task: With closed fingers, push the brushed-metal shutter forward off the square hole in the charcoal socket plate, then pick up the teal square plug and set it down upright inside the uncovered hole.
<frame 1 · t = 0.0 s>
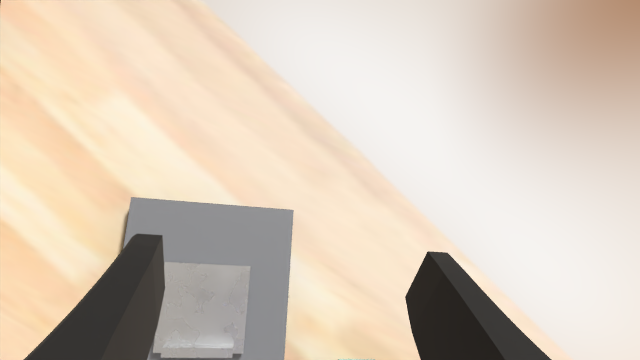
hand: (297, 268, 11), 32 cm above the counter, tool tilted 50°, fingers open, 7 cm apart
socket plate: (205, 305, 40), on the counter
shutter: (203, 308, 37), point 4 cm above the counter, slide at 0.0 cm
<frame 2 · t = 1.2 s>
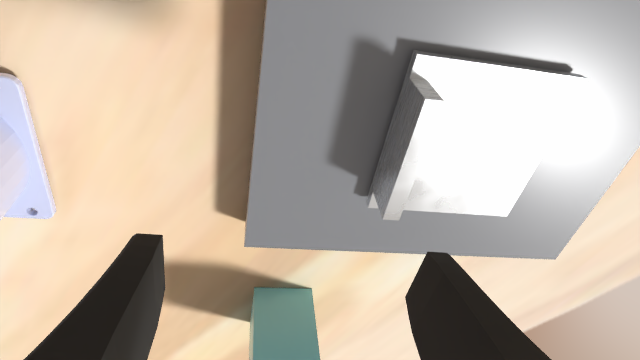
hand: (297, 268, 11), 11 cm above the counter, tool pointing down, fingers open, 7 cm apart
plug: (280, 305, 29), on the counter
socket plate: (447, 120, 21), on the counter
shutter: (476, 157, 18), point 4 cm above the counter, slide at 0.0 cm
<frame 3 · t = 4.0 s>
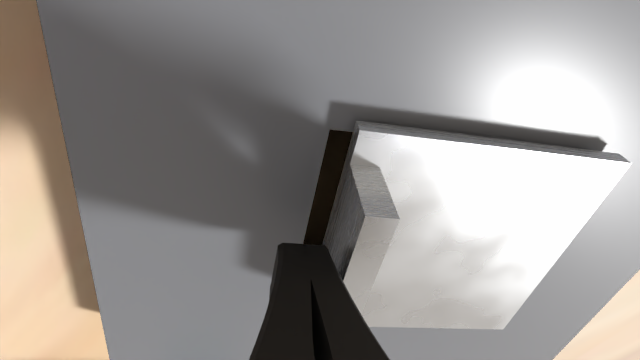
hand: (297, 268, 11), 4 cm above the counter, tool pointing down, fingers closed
socket plate: (395, 196, 15), on the counter
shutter: (457, 272, 12), point 4 cm above the counter, slide at 1.0 cm, touching gripper
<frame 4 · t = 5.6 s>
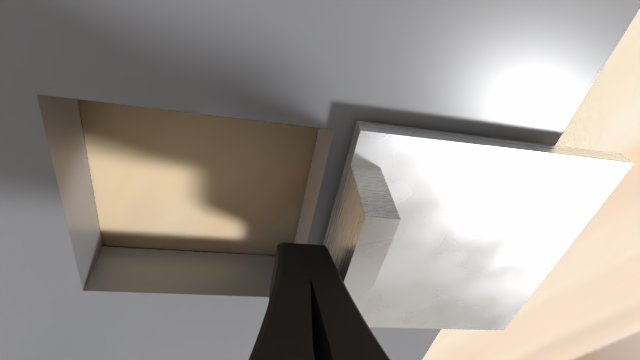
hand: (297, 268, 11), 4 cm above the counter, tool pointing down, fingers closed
socket plate: (203, 179, 13), on the counter
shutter: (458, 272, 12), point 4 cm above the counter, slide at 7.9 cm, touching gripper
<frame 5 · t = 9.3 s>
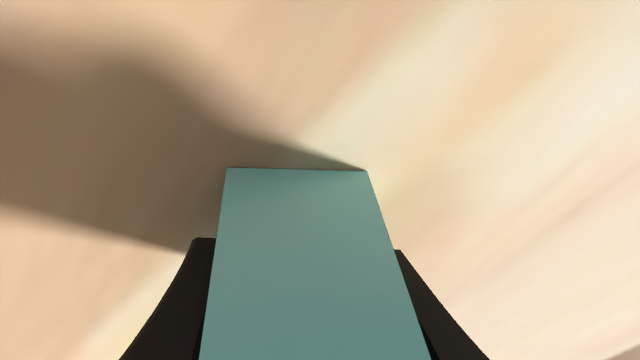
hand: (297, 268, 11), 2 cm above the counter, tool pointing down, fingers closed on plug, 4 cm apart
plug: (294, 221, 13), on the counter, touching gripper
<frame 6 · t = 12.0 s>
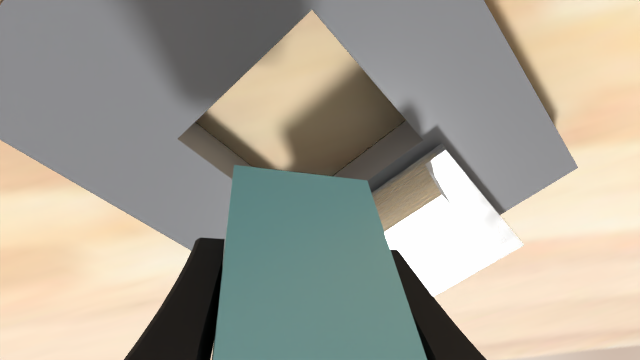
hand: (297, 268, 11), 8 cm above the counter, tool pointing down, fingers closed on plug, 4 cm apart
plug: (291, 222, 13), point 6 cm above the counter, touching gripper
socket plate: (301, 116, 18), on the counter
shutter: (420, 260, 19), point 4 cm above the counter, slide at 7.9 cm
when the fingers open (3 cm above the counter, at t = 15.0 s): plug stays where it is, resting in socket plate.
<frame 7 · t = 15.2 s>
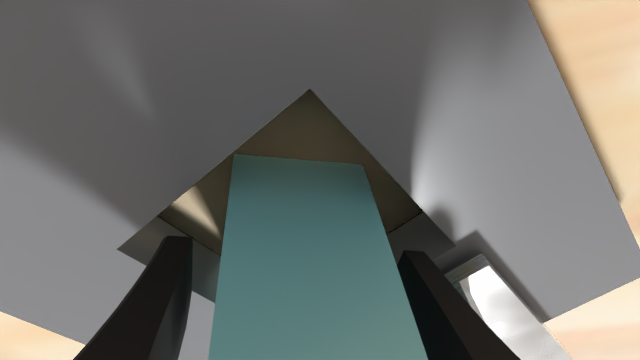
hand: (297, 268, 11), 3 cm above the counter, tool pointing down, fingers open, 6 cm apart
plug: (292, 208, 13), resting in socket plate
socket plate: (293, 203, 13), on the counter
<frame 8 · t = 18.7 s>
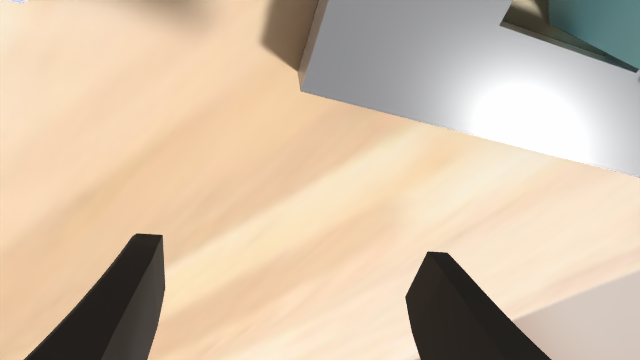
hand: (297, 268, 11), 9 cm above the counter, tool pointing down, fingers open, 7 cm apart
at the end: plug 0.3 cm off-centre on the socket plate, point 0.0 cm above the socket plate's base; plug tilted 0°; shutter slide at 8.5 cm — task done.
